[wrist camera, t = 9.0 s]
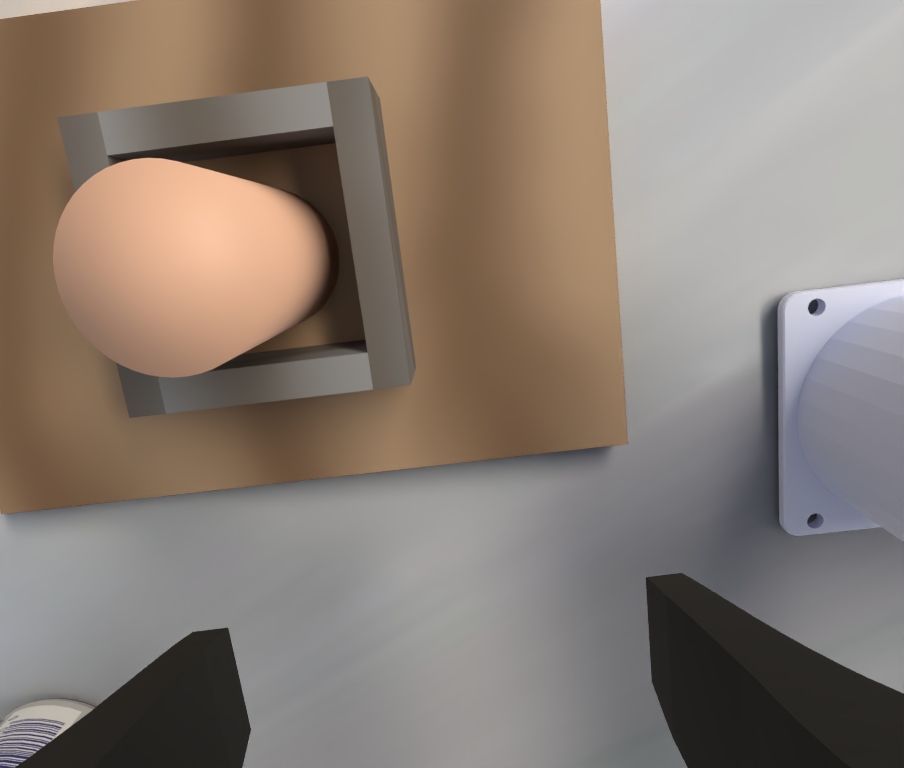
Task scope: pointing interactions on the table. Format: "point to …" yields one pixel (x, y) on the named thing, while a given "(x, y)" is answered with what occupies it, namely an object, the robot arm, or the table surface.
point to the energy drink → (36, 727)
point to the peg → (188, 264)
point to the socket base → (353, 224)
